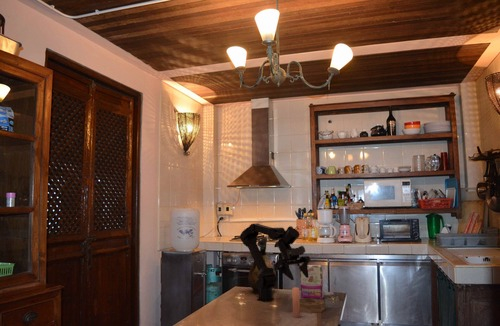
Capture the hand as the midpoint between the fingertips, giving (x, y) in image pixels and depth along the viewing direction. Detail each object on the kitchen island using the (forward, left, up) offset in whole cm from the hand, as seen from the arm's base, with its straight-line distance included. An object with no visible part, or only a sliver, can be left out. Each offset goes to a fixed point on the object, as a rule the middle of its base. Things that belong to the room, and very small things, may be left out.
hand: (300, 278), depth 182 cm
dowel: (+2, -9, -14) cm, 17 cm away
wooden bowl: (+3, +5, -14) cm, 15 cm away
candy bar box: (-5, +27, -15) cm, 31 cm away
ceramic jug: (-34, +26, -15) cm, 45 cm away
